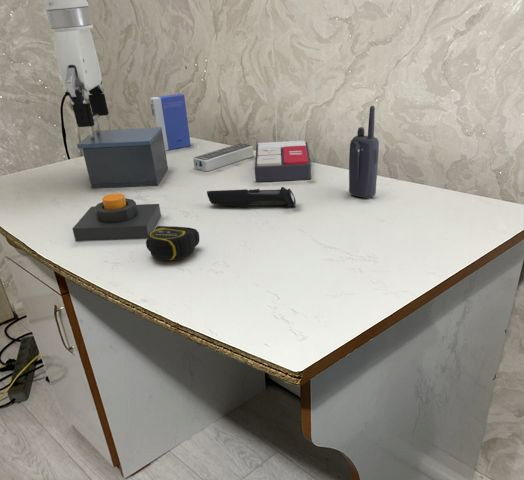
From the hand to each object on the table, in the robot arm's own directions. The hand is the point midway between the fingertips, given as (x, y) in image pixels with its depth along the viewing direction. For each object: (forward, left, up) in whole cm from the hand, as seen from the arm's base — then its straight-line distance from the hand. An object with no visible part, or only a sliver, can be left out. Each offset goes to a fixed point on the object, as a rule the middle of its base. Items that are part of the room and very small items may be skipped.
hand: (93, 120), depth 107 cm
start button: (+10, -28, -8) cm, 31 cm away
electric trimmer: (+32, -20, -12) cm, 40 cm away
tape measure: (+21, -39, -12) cm, 46 cm away
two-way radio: (+51, -17, -12) cm, 55 cm away
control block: (+10, -28, -12) cm, 32 cm away
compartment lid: (+5, 0, -4) cm, 6 cm away
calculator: (+37, +1, -12) cm, 39 cm away
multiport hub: (+24, +9, -12) cm, 28 cm away
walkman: (+10, +24, -12) cm, 29 cm away
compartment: (+5, 0, -12) cm, 13 cm away
